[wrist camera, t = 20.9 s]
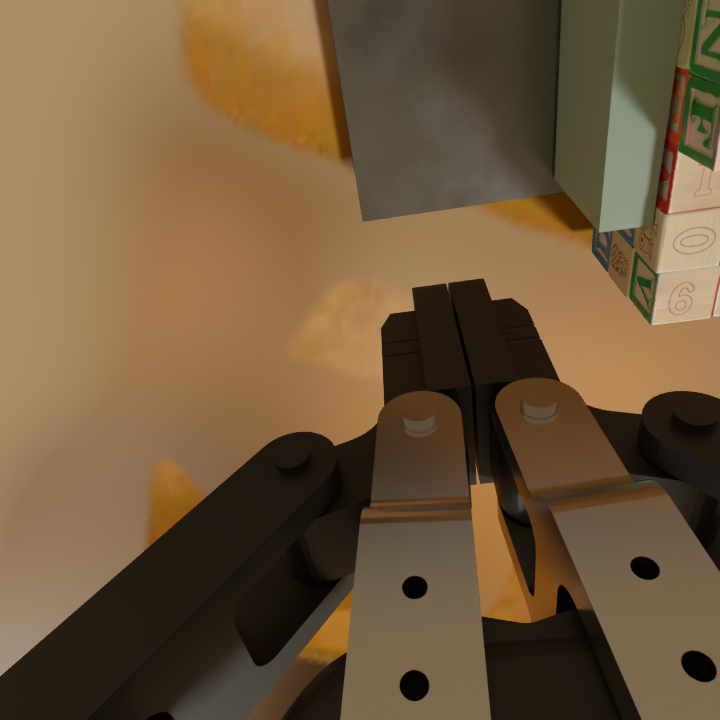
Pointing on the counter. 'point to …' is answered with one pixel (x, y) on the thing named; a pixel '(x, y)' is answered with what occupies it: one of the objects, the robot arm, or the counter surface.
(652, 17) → the sliding jaw
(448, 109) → the vise
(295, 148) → the counter surface
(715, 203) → the stack of blocks
